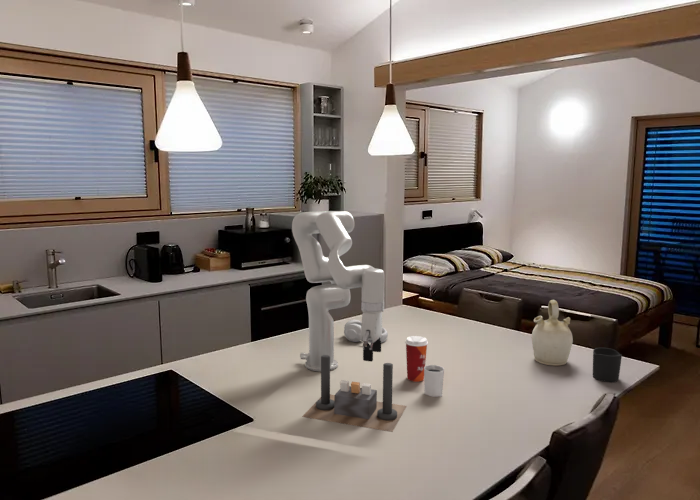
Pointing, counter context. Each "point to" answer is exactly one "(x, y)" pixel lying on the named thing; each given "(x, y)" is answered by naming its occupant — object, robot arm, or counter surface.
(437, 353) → the counter surface
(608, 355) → the pen holder
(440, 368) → the white cup
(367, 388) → the paddle right
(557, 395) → the counter surface
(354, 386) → the paddle middle
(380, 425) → the breaker panel
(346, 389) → the paddle left
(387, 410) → the cord post right
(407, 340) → the coffee cup
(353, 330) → the headphones
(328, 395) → the cord post left
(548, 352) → the jug
